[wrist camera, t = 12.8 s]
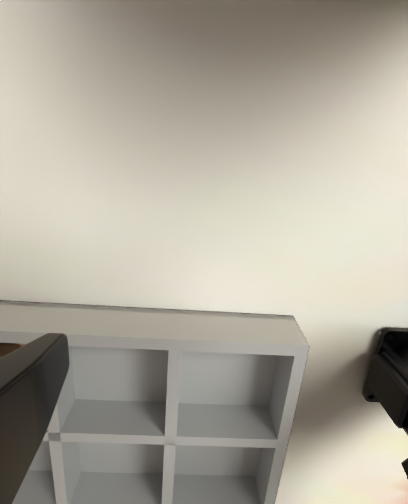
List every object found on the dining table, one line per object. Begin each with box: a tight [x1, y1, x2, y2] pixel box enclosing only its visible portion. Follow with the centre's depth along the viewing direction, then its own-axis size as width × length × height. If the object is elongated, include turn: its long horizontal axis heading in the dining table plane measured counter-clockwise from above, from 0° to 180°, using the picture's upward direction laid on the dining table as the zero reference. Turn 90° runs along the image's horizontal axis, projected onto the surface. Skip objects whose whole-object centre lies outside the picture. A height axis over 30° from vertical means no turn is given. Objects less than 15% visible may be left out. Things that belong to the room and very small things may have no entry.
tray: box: [0, 300, 310, 504], centre depth 23 cm, size 24×16×4 cm
